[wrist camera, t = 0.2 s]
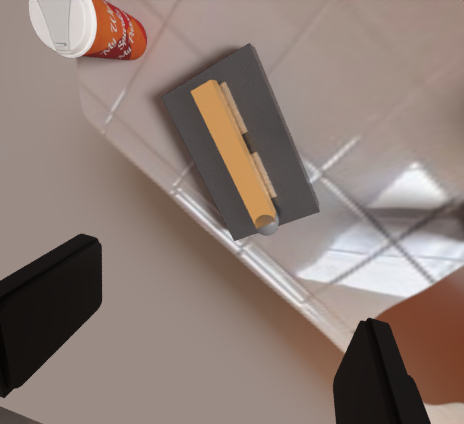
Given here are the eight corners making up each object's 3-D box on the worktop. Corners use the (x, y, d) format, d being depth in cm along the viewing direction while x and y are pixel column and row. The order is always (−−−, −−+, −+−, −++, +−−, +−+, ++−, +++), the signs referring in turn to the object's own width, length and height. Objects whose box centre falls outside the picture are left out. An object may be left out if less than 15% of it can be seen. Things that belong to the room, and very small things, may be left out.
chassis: (173, 97, 45) (158, 97, 40) (254, 47, 40) (248, 42, 35) (239, 230, 50) (233, 242, 46) (318, 202, 45) (319, 213, 41)
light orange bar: (282, 224, 42) (281, 231, 40) (262, 230, 44) (260, 238, 41) (217, 80, 37) (211, 79, 35) (196, 92, 39) (189, 91, 36)
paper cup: (155, 68, 44) (93, 57, 31) (110, 67, 45) (33, 55, 33) (151, 6, 41) (81, -34, 28) (103, 7, 42) (16, -31, 30)
